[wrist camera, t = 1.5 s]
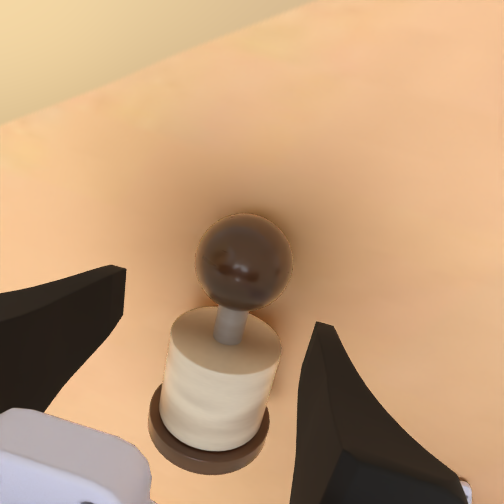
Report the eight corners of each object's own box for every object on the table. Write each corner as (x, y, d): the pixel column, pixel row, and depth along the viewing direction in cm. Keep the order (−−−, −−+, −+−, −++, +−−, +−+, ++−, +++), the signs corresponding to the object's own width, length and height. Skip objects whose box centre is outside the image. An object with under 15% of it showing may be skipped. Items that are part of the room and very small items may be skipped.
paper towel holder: (254, 494, 19) (326, 262, 15) (124, 450, 20) (153, 216, 15) (273, 398, 26) (327, 216, 21) (174, 367, 26) (205, 185, 22)
